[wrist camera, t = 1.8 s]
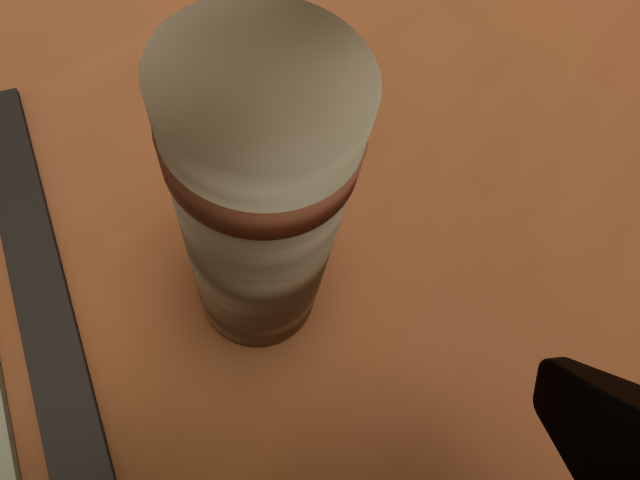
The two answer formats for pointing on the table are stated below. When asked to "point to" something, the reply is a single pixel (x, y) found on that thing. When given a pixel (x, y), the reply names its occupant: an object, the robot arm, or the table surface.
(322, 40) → the skittle
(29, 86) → the table surface
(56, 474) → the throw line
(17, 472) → the mat
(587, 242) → the table surface
